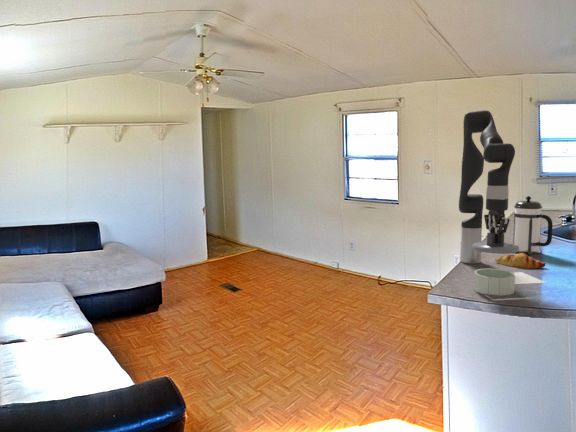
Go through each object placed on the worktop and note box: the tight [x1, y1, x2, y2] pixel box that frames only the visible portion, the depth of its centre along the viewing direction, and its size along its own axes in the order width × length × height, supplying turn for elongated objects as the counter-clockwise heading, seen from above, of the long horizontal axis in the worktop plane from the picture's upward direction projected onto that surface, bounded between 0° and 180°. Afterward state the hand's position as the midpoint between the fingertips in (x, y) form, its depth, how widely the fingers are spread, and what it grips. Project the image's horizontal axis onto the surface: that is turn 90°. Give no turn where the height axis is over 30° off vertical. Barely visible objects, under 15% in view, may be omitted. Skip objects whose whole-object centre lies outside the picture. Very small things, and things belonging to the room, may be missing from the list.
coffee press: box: [512, 195, 553, 257], centre depth 225 cm, size 17×16×30 cm
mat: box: [513, 271, 547, 285], centre depth 181 cm, size 16×16×1 cm
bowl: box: [473, 268, 516, 296], centre depth 166 cm, size 14×14×7 cm
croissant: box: [494, 252, 546, 269], centre depth 201 cm, size 21×10×8 cm
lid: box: [472, 232, 520, 255], centre depth 164 cm, size 16×16×6 cm
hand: (495, 242), depth 164 cm, fingers closed on lid, 3 cm apart
